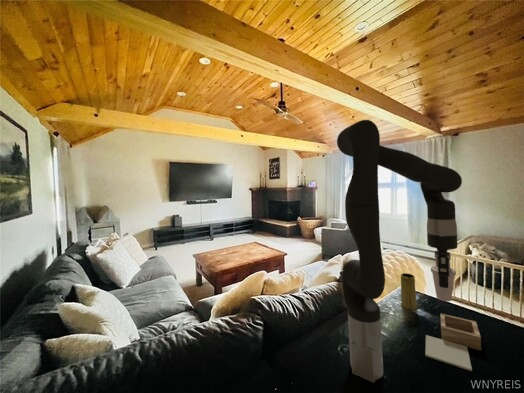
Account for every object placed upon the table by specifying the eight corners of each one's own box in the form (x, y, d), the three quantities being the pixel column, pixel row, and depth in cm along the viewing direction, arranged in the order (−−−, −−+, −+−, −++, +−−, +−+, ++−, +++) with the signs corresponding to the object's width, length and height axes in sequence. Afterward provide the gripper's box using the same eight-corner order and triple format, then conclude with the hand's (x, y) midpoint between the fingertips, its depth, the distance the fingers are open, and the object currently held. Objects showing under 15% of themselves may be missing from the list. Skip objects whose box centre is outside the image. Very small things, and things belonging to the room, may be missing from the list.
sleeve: (481, 350, 72) (480, 337, 72) (441, 339, 78) (441, 327, 78) (476, 333, 80) (475, 321, 80) (440, 324, 86) (440, 313, 86)
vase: (416, 304, 101) (415, 273, 100) (417, 311, 96) (416, 279, 95) (401, 301, 104) (399, 272, 103) (401, 308, 99) (399, 276, 98)
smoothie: (462, 304, 68) (460, 259, 67) (438, 303, 69) (436, 259, 69) (448, 294, 74) (447, 253, 74) (427, 293, 75) (426, 253, 75)
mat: (471, 371, 65) (471, 369, 65) (425, 356, 71) (425, 354, 71) (467, 348, 73) (467, 346, 73) (426, 336, 80) (425, 334, 80)
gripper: (427, 227, 79) (428, 273, 79) (426, 235, 68) (428, 289, 68) (455, 229, 74) (456, 277, 75) (459, 238, 63) (461, 295, 64)
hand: (443, 282), depth 71 cm, fingers closed on smoothie, 6 cm apart
